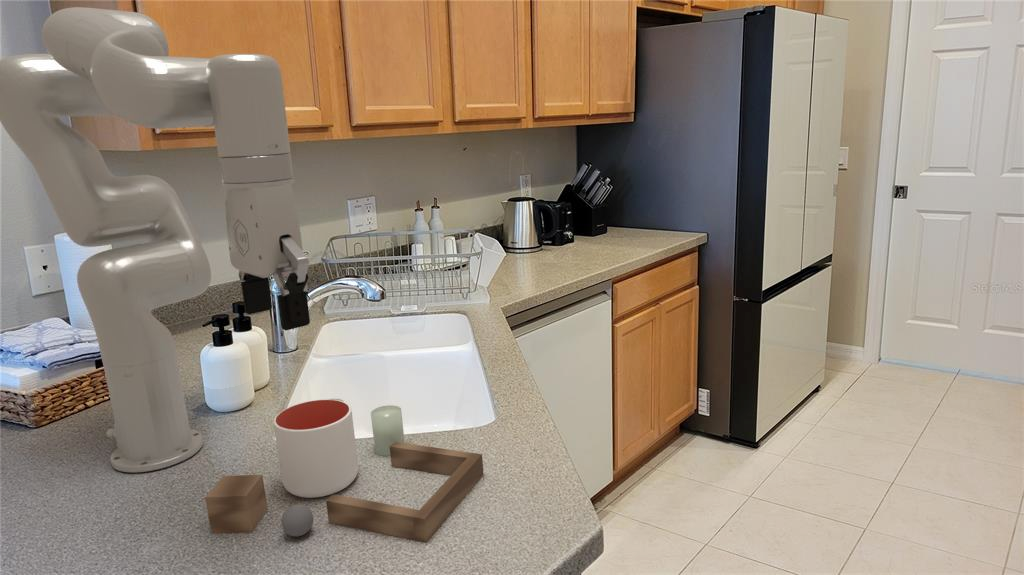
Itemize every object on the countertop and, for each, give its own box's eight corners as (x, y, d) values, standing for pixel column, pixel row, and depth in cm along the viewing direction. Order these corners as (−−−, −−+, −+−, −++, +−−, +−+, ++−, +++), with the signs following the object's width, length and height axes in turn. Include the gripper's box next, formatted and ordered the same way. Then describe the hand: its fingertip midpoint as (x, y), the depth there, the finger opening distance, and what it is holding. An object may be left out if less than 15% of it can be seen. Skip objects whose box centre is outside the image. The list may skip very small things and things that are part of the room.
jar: (369, 454, 101) (364, 416, 100) (385, 440, 105) (381, 404, 104) (395, 458, 100) (391, 419, 98) (410, 444, 104) (406, 407, 102)
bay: (328, 522, 84) (325, 500, 83) (397, 461, 99) (395, 441, 98) (426, 542, 79) (424, 519, 78) (483, 474, 94) (482, 454, 93)
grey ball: (277, 539, 81) (272, 512, 80) (297, 522, 85) (293, 496, 84) (302, 545, 80) (298, 517, 79) (321, 527, 83) (317, 501, 82)
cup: (365, 461, 99) (357, 396, 97) (351, 499, 89) (343, 428, 87) (294, 466, 99) (285, 401, 96) (273, 504, 89) (263, 433, 87)
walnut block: (211, 534, 83) (204, 497, 82) (229, 511, 88) (223, 476, 87) (252, 533, 83) (246, 495, 82) (267, 510, 88) (262, 474, 87)
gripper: (194, 172, 81) (216, 312, 85) (257, 178, 68) (279, 342, 73) (257, 166, 85) (274, 300, 90) (326, 171, 73) (342, 325, 77)
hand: (276, 319), depth 81 cm, fingers open, 9 cm apart
